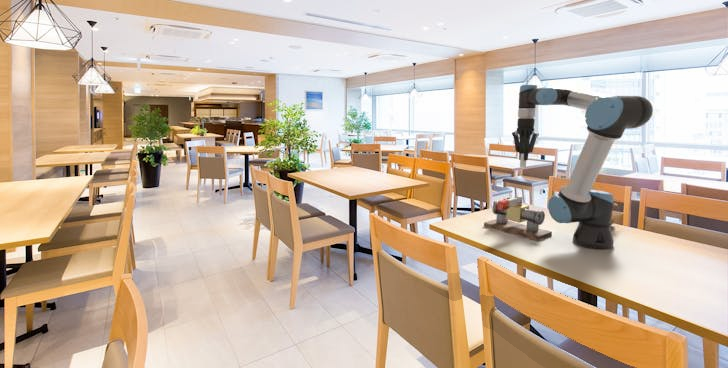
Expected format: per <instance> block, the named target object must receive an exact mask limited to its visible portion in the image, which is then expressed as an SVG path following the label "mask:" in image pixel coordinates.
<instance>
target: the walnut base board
mask: <svg viewBox="0 0 728 368" xmlns="http://www.w3.org/2000/svg"><path fill="white" fill-rule="evenodd" d="M496 219H497V218H496ZM496 219H492V220H489V221H484V222H483V227H484V228H488V229H491V230H495V231H500V232H503V233H506V234H511V235H514V236H517V237H521V238H525V239H528V240H531V241H535V242H539V241H541V240H544V239H547V238H549V237H551V236H552V234H553V232H552V231H550V230H546V229H543V228H539V229H538V231H536V232H533V233H531V232H528V231H526V228H527V224H526V225H525V224H523V223H519V222H515V221H510V220H508V223H506V224H502V225H501V224H497V223H496Z"/></svg>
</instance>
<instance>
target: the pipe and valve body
mask: <svg viewBox="0 0 728 368" xmlns="http://www.w3.org/2000/svg"><path fill="white" fill-rule="evenodd" d="M497 207H498V201H495V202H494V203H493V204H492V213H493V214H494V215H495V216H496V223H497V224H501V225H502V224H506V223H508V221H511V222H515V223H519V224H521V223H523V222H526V225H527V228H526V231H528V232H531V233H533V232H536V231H538V229H540V228H539V227H540V226H541V225H542V224H543V223H544V221H545V217H546V214H545V212H544V211H543V210H537V211H536V210H531V209H530V205H527V204H523V203H522V206H512V207H509V209H506V210H499V209H497Z"/></svg>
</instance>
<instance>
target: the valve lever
mask: <svg viewBox="0 0 728 368" xmlns="http://www.w3.org/2000/svg"><path fill="white" fill-rule="evenodd" d="M523 199H524V196H522V195H514V197H512V198H509V199H504V198H503V199H501V200H497V202H498V207H497V209H499V210H506V209H509V207H512V206H522V204H523Z"/></svg>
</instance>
